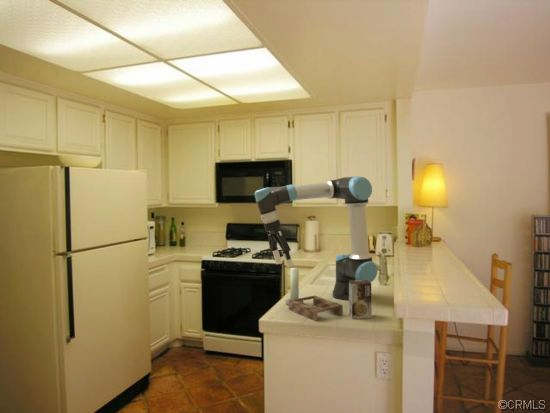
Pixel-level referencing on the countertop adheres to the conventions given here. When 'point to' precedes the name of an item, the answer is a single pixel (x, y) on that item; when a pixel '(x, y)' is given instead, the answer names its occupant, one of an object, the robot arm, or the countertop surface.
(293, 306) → the brown square frame
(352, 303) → the coffee box
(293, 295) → the cream rod gray base
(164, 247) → the countertop surface
